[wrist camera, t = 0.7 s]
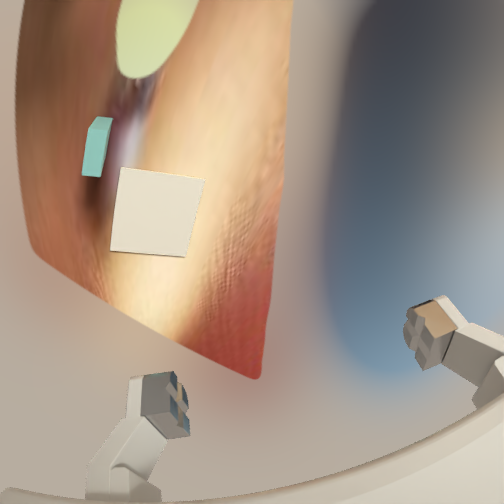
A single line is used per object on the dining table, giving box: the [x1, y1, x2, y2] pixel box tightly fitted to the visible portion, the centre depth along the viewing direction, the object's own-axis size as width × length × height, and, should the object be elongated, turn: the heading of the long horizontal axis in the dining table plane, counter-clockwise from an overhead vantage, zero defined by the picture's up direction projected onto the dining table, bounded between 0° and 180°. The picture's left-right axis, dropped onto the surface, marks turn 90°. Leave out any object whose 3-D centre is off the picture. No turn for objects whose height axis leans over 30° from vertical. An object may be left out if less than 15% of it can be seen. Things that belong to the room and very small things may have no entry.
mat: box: [110, 167, 205, 257], centre depth 52 cm, size 15×14×1 cm
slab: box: [82, 116, 113, 177], centre depth 38 cm, size 6×3×10 cm, turn 162°
